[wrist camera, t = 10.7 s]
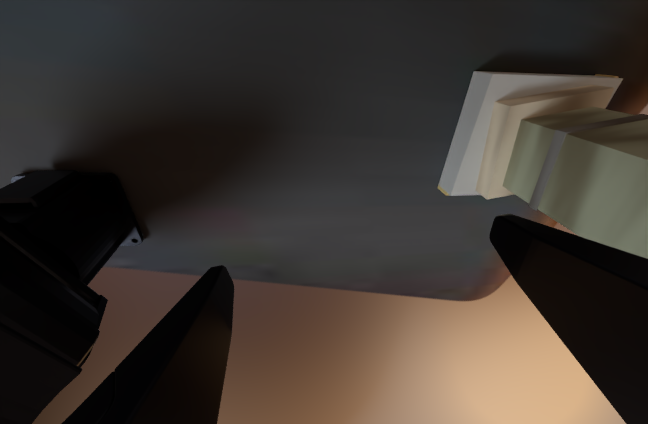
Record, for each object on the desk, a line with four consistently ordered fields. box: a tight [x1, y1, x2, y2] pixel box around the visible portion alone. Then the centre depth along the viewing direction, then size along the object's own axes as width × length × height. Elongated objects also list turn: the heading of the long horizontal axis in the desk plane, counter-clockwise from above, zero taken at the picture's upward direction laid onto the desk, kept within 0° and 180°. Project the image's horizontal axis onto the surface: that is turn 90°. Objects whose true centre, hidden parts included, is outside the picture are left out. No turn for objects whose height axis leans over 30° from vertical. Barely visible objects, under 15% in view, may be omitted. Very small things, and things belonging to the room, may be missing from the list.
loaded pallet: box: [475, 85, 648, 259], centre depth 14 cm, size 7×7×13 cm
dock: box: [438, 71, 623, 196], centre depth 21 cm, size 9×10×2 cm
